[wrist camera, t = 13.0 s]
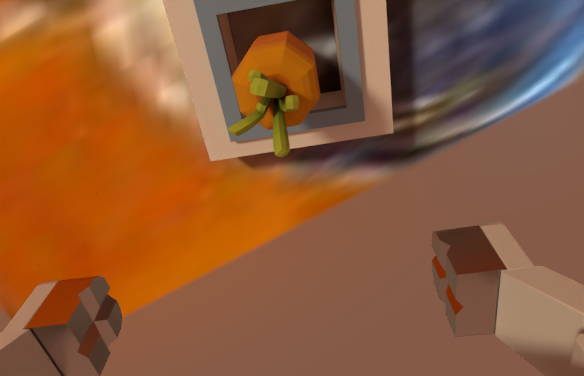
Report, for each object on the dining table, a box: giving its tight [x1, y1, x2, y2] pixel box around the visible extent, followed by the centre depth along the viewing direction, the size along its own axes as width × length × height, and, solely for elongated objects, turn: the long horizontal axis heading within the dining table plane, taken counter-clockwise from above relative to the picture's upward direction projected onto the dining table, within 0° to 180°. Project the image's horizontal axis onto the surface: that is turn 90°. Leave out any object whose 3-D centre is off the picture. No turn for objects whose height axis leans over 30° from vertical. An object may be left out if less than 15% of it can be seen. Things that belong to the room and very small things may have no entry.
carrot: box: [228, 31, 321, 157], centre depth 26 cm, size 5×5×15 cm
